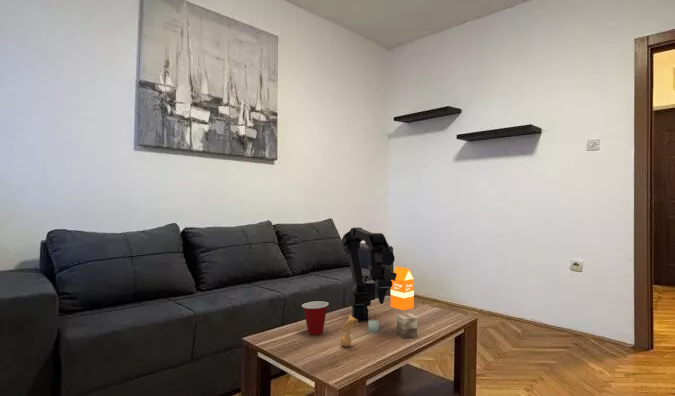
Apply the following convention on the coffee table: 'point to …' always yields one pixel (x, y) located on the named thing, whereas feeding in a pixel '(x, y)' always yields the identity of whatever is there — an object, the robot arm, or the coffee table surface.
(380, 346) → the coffee table surface
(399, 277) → the orange juice
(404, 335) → the walnut block
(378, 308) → the coffee table surface
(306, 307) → the plastic cup
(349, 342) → the figurine
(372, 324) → the stubby sage cylinder
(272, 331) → the coffee table surface
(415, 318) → the birch block
